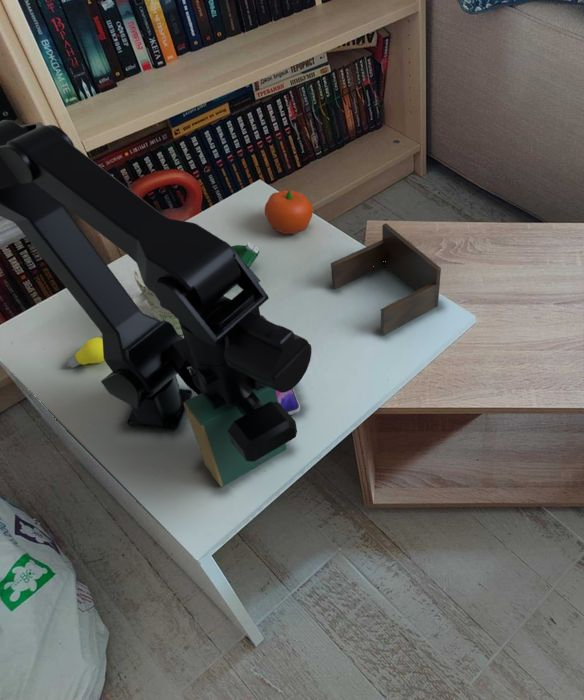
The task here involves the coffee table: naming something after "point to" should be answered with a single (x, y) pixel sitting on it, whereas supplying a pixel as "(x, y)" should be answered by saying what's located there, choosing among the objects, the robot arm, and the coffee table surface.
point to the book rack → (403, 264)
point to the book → (223, 436)
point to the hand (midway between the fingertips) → (241, 434)
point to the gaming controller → (247, 253)
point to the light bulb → (88, 353)
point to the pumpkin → (288, 211)
